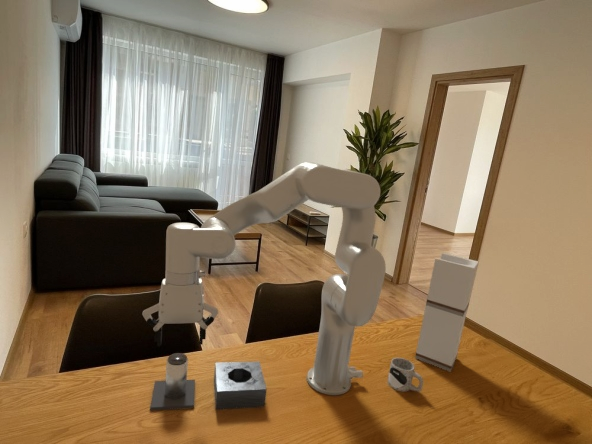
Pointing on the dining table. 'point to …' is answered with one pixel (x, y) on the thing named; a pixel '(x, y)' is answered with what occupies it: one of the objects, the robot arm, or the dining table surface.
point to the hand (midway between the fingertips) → (180, 342)
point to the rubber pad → (165, 403)
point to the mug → (403, 375)
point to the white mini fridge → (446, 310)
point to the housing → (239, 385)
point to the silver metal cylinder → (176, 376)
